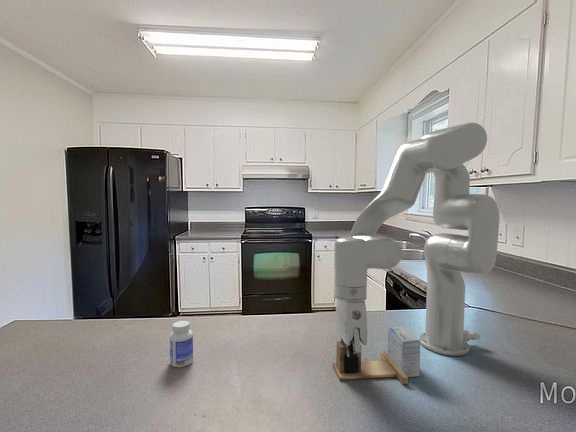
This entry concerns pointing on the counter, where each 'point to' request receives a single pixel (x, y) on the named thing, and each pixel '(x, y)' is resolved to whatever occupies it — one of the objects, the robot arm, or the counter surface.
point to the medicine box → (404, 350)
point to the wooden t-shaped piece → (368, 366)
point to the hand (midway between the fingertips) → (348, 367)
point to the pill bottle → (181, 344)
